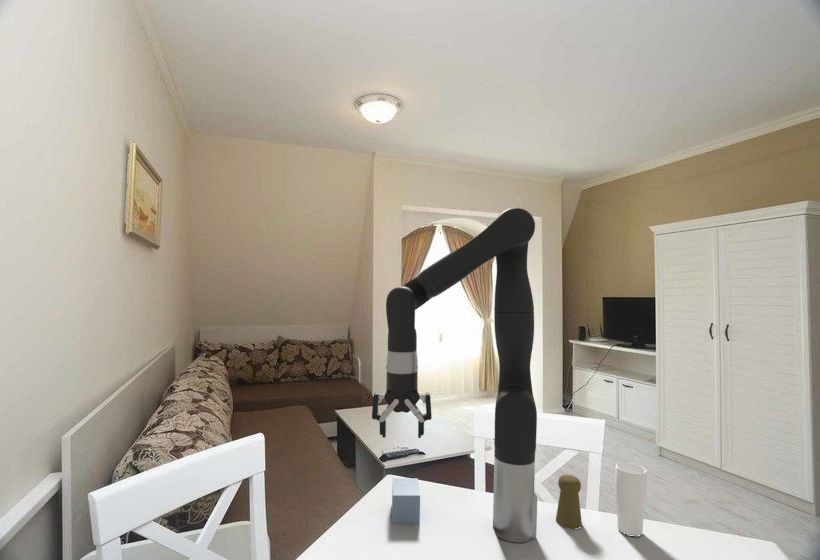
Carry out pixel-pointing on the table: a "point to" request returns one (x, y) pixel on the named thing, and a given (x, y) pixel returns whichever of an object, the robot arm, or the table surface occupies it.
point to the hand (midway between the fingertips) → (401, 436)
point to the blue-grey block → (405, 501)
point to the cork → (569, 502)
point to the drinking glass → (630, 497)
